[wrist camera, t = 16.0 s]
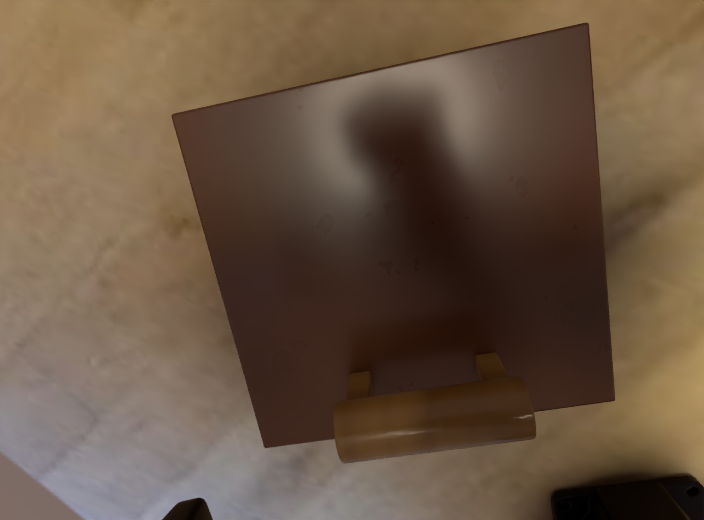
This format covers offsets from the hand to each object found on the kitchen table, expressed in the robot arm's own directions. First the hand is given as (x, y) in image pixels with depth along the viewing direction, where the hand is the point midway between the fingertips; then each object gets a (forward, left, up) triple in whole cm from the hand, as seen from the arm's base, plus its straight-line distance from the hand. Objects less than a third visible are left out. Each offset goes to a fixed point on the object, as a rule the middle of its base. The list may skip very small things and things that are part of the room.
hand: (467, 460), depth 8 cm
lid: (+2, 0, -7) cm, 8 cm away
